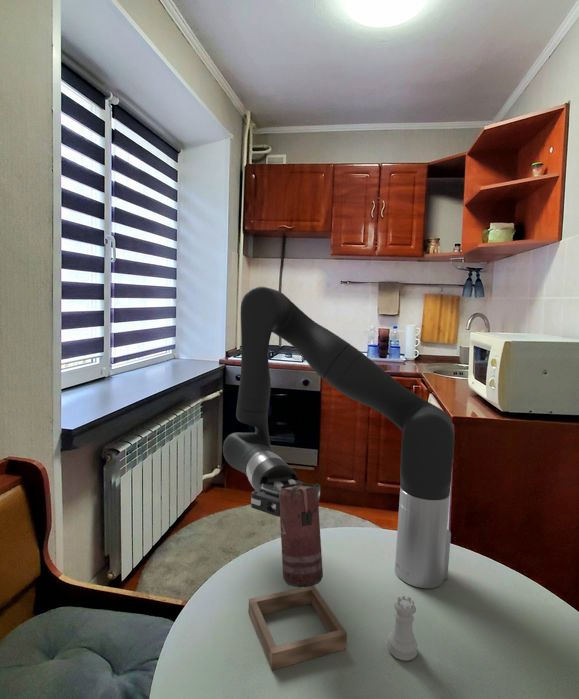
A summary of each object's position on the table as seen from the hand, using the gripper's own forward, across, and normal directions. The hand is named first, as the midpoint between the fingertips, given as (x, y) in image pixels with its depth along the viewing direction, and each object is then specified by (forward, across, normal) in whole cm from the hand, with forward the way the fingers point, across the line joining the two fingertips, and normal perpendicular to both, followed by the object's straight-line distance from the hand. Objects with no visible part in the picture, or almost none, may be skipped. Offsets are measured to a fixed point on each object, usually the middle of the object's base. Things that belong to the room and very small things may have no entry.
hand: (307, 520), depth 63 cm
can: (0, 0, +10) cm, 10 cm away
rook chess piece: (+6, +14, +20) cm, 25 cm away
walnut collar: (-3, 0, +20) cm, 20 cm away
